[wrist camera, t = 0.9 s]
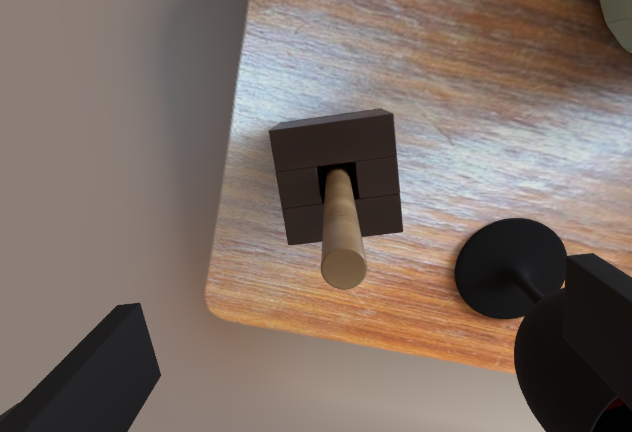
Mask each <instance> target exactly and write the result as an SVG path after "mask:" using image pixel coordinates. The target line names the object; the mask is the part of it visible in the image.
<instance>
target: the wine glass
mask: <svg viewBox="0 0 632 432" xmlns="http://www.w3.org/2000/svg"><path fill="white" fill-rule="evenodd" d="M566 256H567V253H566V250H565V247H564V245H563V243H562V241H561V240H560V238H559V237H558V236H557V235H556V234H555V232H553V231H552V230H551V229H549V228H548V227H547V226H545V225H543V224H541V223H539V222H536V221H533V220H530V219H524V218H511V219H503V220H500V221H497V222H494V223H492V224H489V225H487V226H485V227H484V228H482V229H481V230H479V231H478V232H477V233H475V234H474V235H473V236H472V237H471V238H470V239H469V240H468V241H467V242H466V244H465V245H464V247H463V248H462V250H461V252H460V254H459V256H458V259H457V262H456V267H455V281H456V285H457V288H458V291H459V293H460V295H461V296H462V298H463V299H464V301H465V302H466V303H467V304H468V305H469V306H470V307H471V308H472V309H474V310H475V311H477V312H478V313H480V314H482V315H485V316H488V317H491V318H497V319H514V318H519V317H523V316H525V317H524V319H523V321H522V322H521V324H520V326H519V329H518V332H517V335H516V340H515V346H514V363H515V369H516V374H517V378H518V382H519V385H520V388H521V390H522V393H523V395H524V397H525V399H526V401H527V404H528V406H529V407H530V409H531V411H532V413H533V414H534V416H535V417H536V419H537V420H538V421H539V423H540V424H541V426H542V427H543V428H544V430H545V431H546V432H632V410H631V409H630V408H629V407H628V406H627V405H626V404H625V403H624V402H623V401H622V400H621V399H620V398H619V397H618V395H617V394H616V393H615V392H614V391H613V390H612V389H611V388H610V387H609V386H608V385H607V384H606V383H605V382H604V380H603V379H602V378H601V377H600V376H599V375H598V374H597V373H596V372H595V371H594V370H593V369H592V368H591V366H590V365H589V364H588V363H587V362H586V361H585V360H584V359H583V358H582V357H581V356H580V355H579V354H578V353H577V351H576V350H575V349H574V348H573V347H572V346H571V345H570V344H569V343H568V342H567V341H566V340H565V339H564V338H563V324H564V297H565V288H562V289H560V288H561V287H562V285H563V282H564V280H565V269H566Z"/></svg>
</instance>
